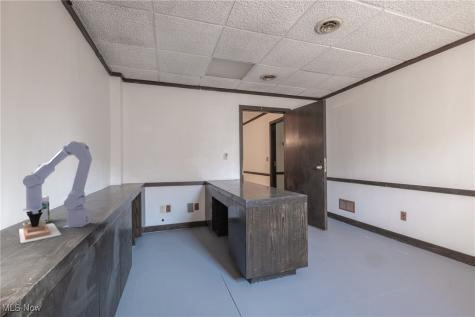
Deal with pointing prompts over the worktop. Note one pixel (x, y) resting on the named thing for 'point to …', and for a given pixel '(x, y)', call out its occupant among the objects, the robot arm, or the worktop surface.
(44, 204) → the syrup box
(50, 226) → the white mat
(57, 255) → the worktop surface
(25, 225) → the maple block
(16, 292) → the worktop surface
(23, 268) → the worktop surface
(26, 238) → the terracotta frame
